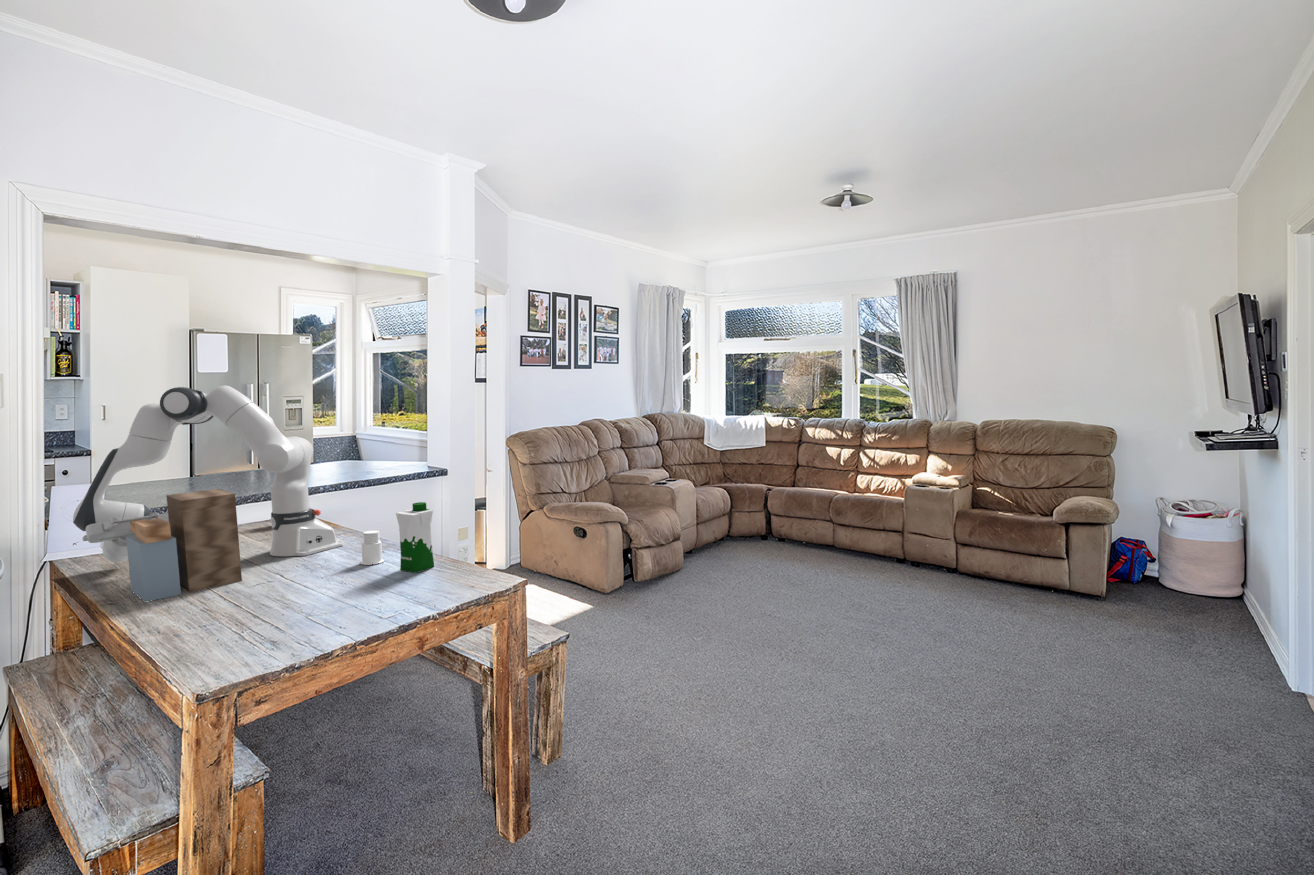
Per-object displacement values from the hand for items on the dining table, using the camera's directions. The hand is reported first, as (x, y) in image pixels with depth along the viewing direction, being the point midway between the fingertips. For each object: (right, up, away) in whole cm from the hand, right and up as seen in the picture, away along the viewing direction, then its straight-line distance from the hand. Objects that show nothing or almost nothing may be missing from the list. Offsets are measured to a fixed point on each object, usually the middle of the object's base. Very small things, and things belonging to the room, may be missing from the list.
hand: (134, 517), depth 189 cm
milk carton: (+78, -18, +12) cm, 80 cm away
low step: (+12, -20, -8) cm, 25 cm away
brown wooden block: (+10, -4, -8) cm, 13 cm away
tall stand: (+20, -19, +2) cm, 28 cm away
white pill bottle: (+61, -17, +19) cm, 66 cm away
